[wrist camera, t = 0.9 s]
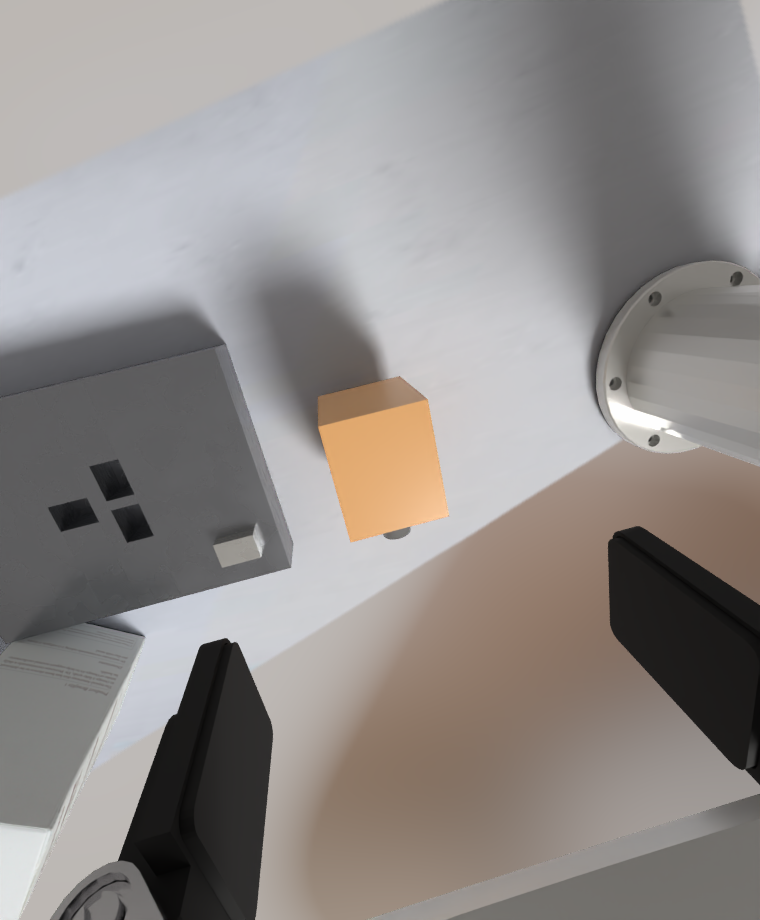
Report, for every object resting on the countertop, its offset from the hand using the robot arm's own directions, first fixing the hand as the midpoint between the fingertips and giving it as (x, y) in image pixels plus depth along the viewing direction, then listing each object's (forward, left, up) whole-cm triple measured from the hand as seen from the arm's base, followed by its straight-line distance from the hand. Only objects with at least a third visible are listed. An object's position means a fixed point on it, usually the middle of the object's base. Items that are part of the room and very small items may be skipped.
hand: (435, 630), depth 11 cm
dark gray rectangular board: (+16, 0, -19) cm, 25 cm away
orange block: (0, 0, -19) cm, 19 cm away
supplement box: (+24, +12, -19) cm, 33 cm away
